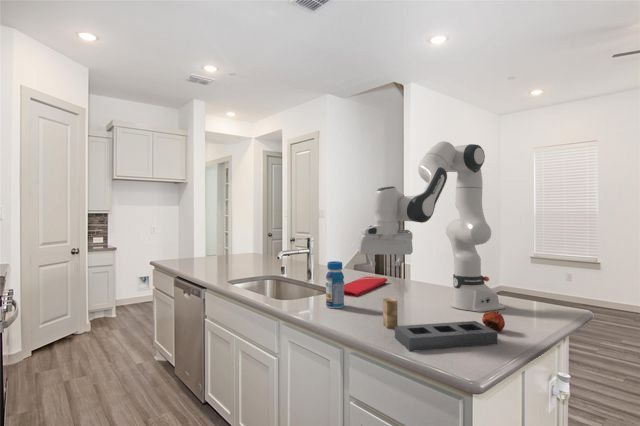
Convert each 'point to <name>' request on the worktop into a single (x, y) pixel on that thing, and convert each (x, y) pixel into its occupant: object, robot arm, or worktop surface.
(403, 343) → the gray socket block
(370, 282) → the dish drying mat
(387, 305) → the oak peg
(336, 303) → the beverage bottle
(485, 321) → the pomegranate
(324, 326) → the worktop surface
